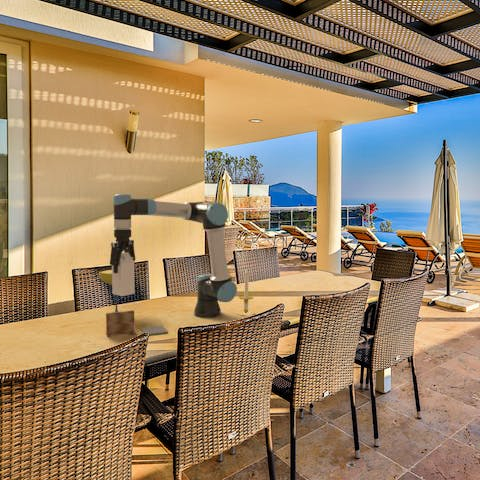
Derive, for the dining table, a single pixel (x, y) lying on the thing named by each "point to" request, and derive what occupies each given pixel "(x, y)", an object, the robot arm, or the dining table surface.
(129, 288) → the milk carton
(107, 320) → the brown upright block
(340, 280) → the dining table surface
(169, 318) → the dining table surface
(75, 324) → the dining table surface
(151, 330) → the coaster
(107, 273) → the cocktail glass
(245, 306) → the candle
